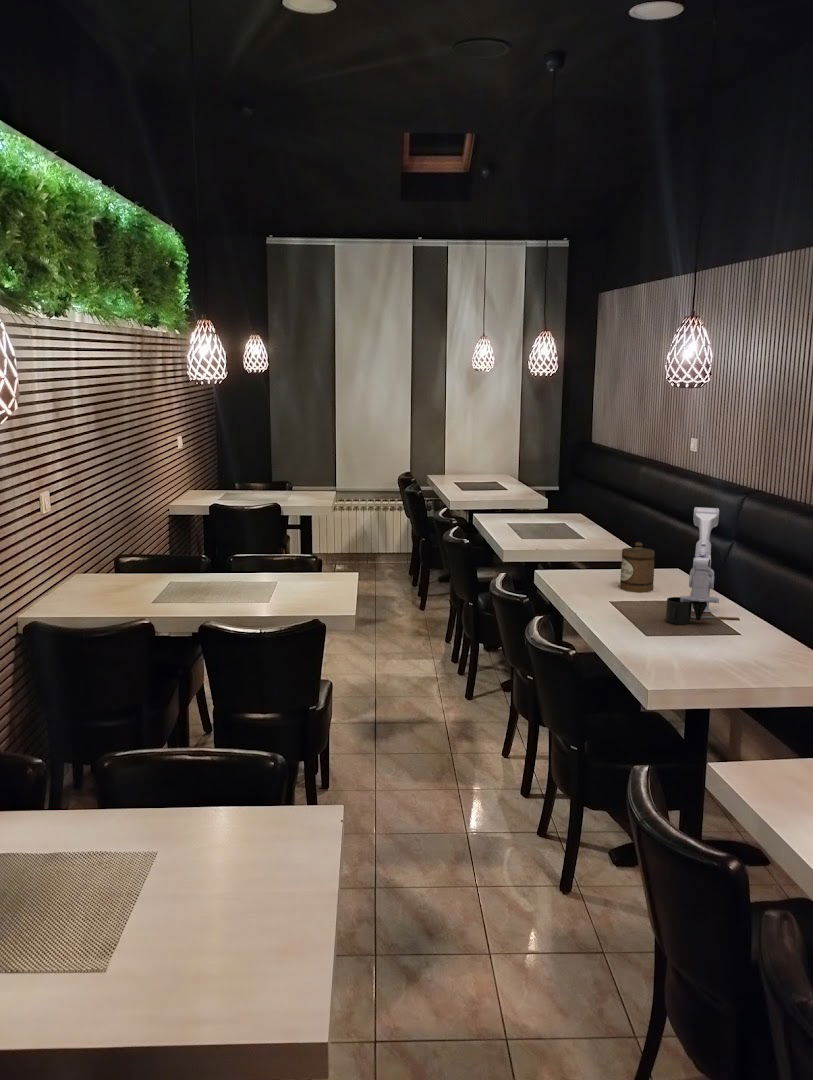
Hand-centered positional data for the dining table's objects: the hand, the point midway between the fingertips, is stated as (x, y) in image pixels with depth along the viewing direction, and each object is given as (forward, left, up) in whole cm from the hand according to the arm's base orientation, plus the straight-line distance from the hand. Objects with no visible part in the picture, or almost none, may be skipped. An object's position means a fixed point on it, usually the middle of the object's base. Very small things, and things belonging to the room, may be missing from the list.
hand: (698, 619), depth 343 cm
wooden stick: (-8, +4, -1) cm, 9 cm away
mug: (0, -8, -2) cm, 8 cm away
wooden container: (-56, -16, -2) cm, 58 cm away
